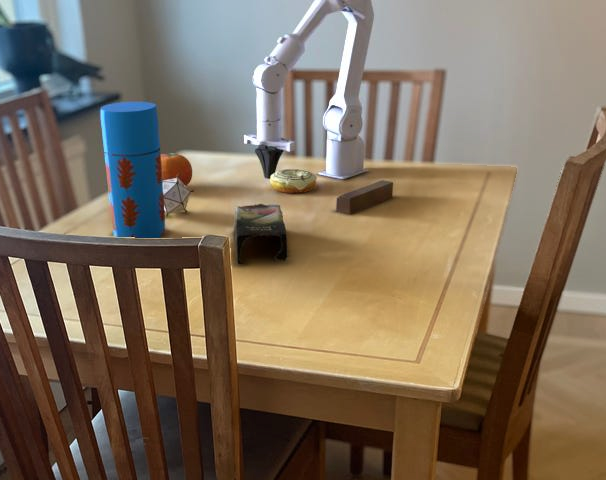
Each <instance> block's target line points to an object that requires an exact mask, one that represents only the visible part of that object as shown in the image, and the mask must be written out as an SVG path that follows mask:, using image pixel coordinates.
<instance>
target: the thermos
mask: <svg viewBox="0 0 606 480" xmlns="http://www.w3.org/2000/svg"><path fill="white" fill-rule="evenodd" d="M100 124H101V125H100V126H101V134H102V143H103V151H104V152H103V153H104V162H105V171H106V180H107V191H108V199H109V209H110V219H111V225H112V231H113V237H114V236H116V237H135V238H160V239H162V238H163V237H164V236H165V235H166V212H165V210H164V196H163V182H162V168H161V155H162V153H161V143H160V128H159V127H160V126H159V114H158V108H157V105H156V103H153V102H149V101H123V102H113V103H109V104H105V105H102V106H100Z"/></svg>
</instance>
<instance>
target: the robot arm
mask: <svg viewBox="0 0 606 480" xmlns="http://www.w3.org/2000/svg"><path fill="white" fill-rule="evenodd" d="M373 7H374V6H373V3H372V0H314V1H313V2H312V3H311V5H310V7H309V8H308V10H307V11H306V13H305V14H304V16H303V17H302V18H301V20H300V22H299V24H297V26H296V28H295V29H294V31H293V32H292V33H286V34H284V35H283V36H282V37H281V36H280V37H278V39H277V41H276V42H277V43H278V44H277V45H276V46H275V47H274V48H273V50H272V52H271V53H270V54H269V56H265V58H264V60H263V61H264V63H262V64H258V66H256V68H255V70H254V72H253V74H254V75H252V76H251V80H252V83H253V85H254V86H255V88H256V134H251V133H249V134H244V135H243V143H244V145H253V146H258V147H257V148H254V153H255V155H256V156H257V158H258V160H259V163H260V166H261V168H262V169H261V170H262V173H263V177H264V179H267V180H270V179H271V175H272V174H274V173H275V172H277V171H276V170H277V167H278V164H279V161H280V159H281V158H282V157H281V156H282V155H283V153H284V151H286V152H289V153H291V152H295V151H296V141H293V140H290V139H286V138H284V137H282V88H284V87H285V85H286V83H287V75H288V74H289V73H290V72H291V70H292V69H293V68H294V66H295V65H296V64H297V63H298V61H299V60H300V59H301V57H302V56H303V54H304V53H305V51H306V50H305V46H306V45H305V44H306V42H307V41H308V39H309V38H310V37H311V36H312V35H313V33H315V31H316V30H317V29H318V27H320V25H321V24H322V23H323V21H325V19H326V18H327V17H328V15H330V14H333V13H337V12H341V13H342V15H343V16H344V17H345V19H346V21H348V26H347V30H346V37H345V42H344V47H343V53H342V59H341V64H340V68H339V75H338V80H337V85H336V90H335V94H334V95H333V96H332V97H331V99H330V100H329V103H328V107H327V109H326V110H325V112H324V114H323V117H322V125H323V127H324V129H325V130H326V131H327V133H326V159H325V170H322V171H319V172H318V175H320V176H324V177H329V178H334V179H340V180H346V179H349V178H352V177H355V176H357V175H360V174H363V173H366V172H367V169H364V162H365V143H364V140H363V138H362V137H361V136H360V134H361V132H362V130H363V125H364V122H363V118H362V111H363V106H362V104H361V101H360V97H359V96H360V90H361V86H362V81H363V75H364V70H365V65H366V61H367V56H368V51H369V50H368V49H369V46H370V45H369V44H370V41H371V34H372V29H373V26H374V25H373V24H374V21H375V12H374V8H373Z"/></svg>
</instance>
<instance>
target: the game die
mask: <svg viewBox="0 0 606 480" xmlns="http://www.w3.org/2000/svg"><path fill="white" fill-rule="evenodd" d="M178 177H179V174H178V175H177V178H172V179H167V180H162V182H163V196H164V210H165V219H166V218H168V217H169V214H174V213H178V212H183V211H184V212H185V213H186V214H188V210H187V207H188V206H187V205H188V202H189V200H190V196H191V194H192V193H194V192H195V189H190V188H189V187H188V185H187V186H186V185H185V184H184V183H183V182H182V181H181V180H180V179H179V178H178ZM185 213H184V214H185Z"/></svg>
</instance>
